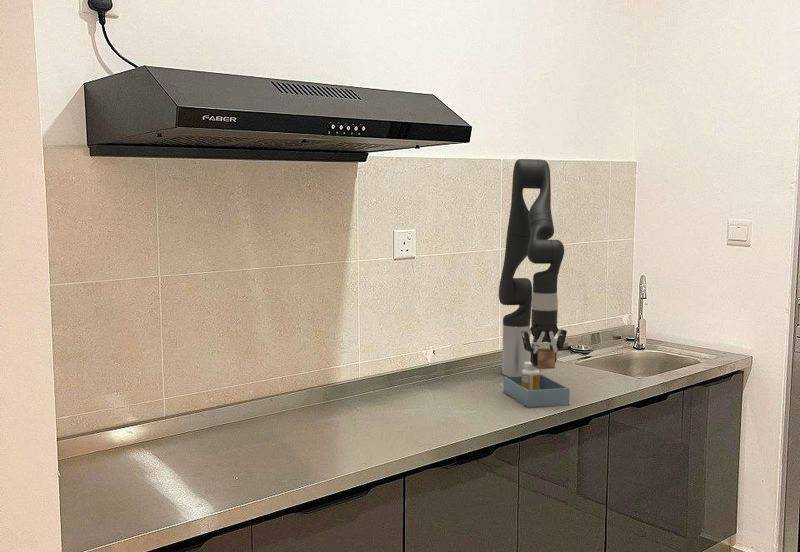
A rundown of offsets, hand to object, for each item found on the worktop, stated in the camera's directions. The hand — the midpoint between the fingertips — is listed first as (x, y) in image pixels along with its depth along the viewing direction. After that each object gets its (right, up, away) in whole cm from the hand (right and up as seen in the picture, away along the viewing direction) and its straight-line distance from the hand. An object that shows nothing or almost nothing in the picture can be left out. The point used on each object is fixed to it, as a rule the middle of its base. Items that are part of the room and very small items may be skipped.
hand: (543, 364), depth 226 cm
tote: (-1, -11, +6) cm, 13 cm away
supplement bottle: (-2, -10, +10) cm, 14 cm away
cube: (0, -1, 0) cm, 1 cm away
